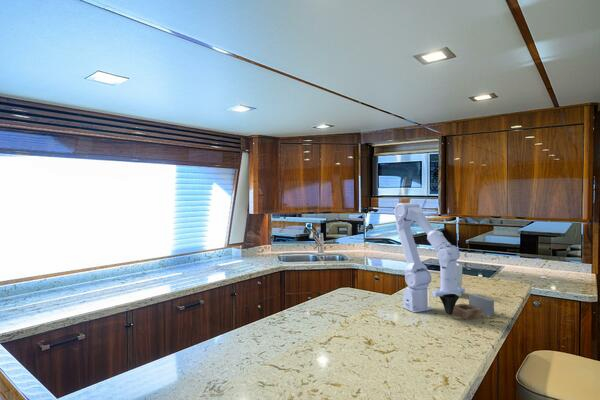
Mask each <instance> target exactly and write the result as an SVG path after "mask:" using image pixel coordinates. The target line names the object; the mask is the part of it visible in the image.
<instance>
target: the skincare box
mask: <svg viewBox="0 0 600 400" xmlns="http://www.w3.org/2000/svg"><path fill="white" fill-rule="evenodd" d="M457 287H463V265H461V264H459V263H458V262H457ZM462 294H463V293H458V294H456V295H458V296H459V297H462Z"/></svg>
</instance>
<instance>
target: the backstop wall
mask: <svg viewBox="0 0 600 400" xmlns="http://www.w3.org/2000/svg"><path fill="white" fill-rule="evenodd" d="M468 304H469V305H472V306H474V307H477V308H480V309H482V315H484V316H488V317H494V316H495V301H494V299H491V298H488V297H485V296H481V295H477V294H476V293H470V294H468Z"/></svg>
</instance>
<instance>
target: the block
mask: <svg viewBox="0 0 600 400" xmlns="http://www.w3.org/2000/svg"><path fill="white" fill-rule="evenodd" d="M451 315H452V316H456V317H458V318H461V319H463V320H473V319H477V318H482V317H483V314H482V309H480V308H477V307H474V306H472V305H469V303H465V302H464V303H459V304H455V306H454V309H453V313H452V314H451Z"/></svg>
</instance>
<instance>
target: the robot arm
mask: <svg viewBox="0 0 600 400" xmlns="http://www.w3.org/2000/svg"><path fill="white" fill-rule="evenodd" d="M423 211H424V209H423V208H422V207H421V206H420V205H419V203H417V202H407V203H406V202H405V203H404V202H399V203H397V204H396V205H395V208H394V210H393V214H394V218H395V227H396V230H397V234H398V237H399V240H400V244H401V247H402V250H403V253H404V254H403V255H404V257H405V261H406V263H407V265H406V267H405V269H404V280H405V283H406V285H407V287H406V288H405V289H404V290H403V291H402V306H401V307H402V308H403V309H405V310H407V311H410V312H412V313H419V312H426V311H431V310H433V308H432V307H430V306H428V305H429V304H428V303H429V302H428V301H429V300H428V299H429V297H428V291H429V289H428V287H429V284H430V283H431V282H432V274H431V273H430V272H429V269H428V267H427V265H425V264H424V263H423V262H422V261H421V258H420V255H419V252H418V249H417V244H416V242H415V239H414V235H413V232H412V229H411V225H412V223H413V222H415V223H416V224H417V225H418V226H419V227H420V228H421V229H422V231H423V232H424V233H425V234H426V236H427V237H426V240H427V242H428V243H429V244H430V245H431V247H432V248H433V249H434V250H435V252H436V258H437V260H438V262H439V267H440V268H439V269H440V273H439V274H440V288H438V289H435V290H432V291H431V297H433V298H438V297H439V299H440V301H441V303H442V304H443V309H444V312H445V314H446V315H449V316H451V315H453V314H452V313H453V309H454V306H455V305H457V304H456V303H457V302H458V300H459V299H460V298H459V296H458V295H456V294H458V293H462V294H466V288H465V287H463V286H462V287H457V263H458V262H457V260H458V259H459V258H460V253H461V252H460V250H459V249H458V247H457V246H456V245H453V244H451V242H449V241H448V240H447V238H446V237H445V236H444V233H443V232H442V231H440V230H436V229H434V228H435V227H434V226H432V223H430V221H429V219H428V218H427V216H426V215H425V213H424V212H423Z"/></svg>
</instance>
